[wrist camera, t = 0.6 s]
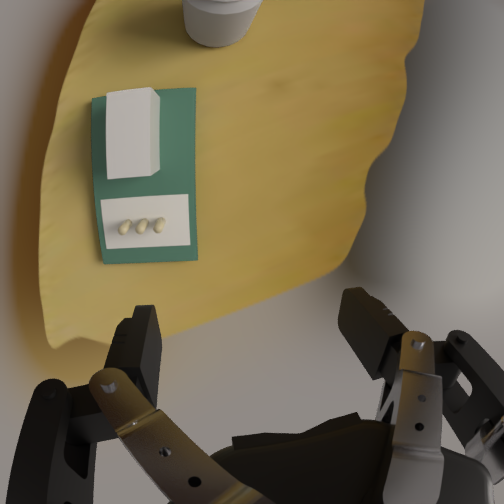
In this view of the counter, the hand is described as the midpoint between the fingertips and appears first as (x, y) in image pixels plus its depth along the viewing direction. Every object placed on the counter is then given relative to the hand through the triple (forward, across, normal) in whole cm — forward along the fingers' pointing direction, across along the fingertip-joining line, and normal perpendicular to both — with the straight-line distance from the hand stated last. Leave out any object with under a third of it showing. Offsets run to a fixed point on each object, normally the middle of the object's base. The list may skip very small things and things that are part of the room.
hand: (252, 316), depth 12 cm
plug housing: (+22, +8, -8) cm, 25 cm away
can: (+24, 0, -22) cm, 33 cm away
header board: (+24, +8, -3) cm, 25 cm away
